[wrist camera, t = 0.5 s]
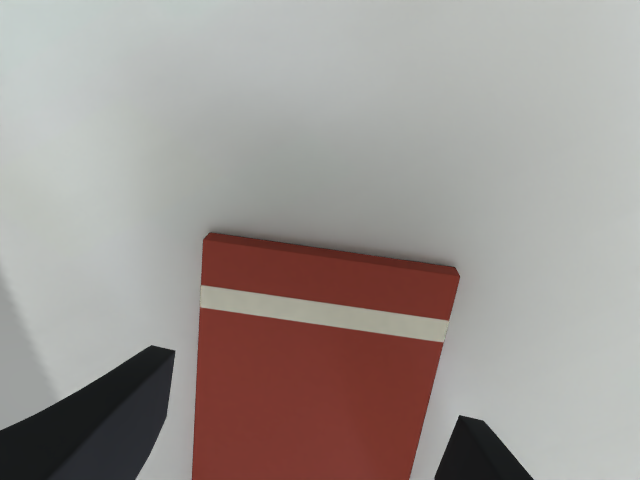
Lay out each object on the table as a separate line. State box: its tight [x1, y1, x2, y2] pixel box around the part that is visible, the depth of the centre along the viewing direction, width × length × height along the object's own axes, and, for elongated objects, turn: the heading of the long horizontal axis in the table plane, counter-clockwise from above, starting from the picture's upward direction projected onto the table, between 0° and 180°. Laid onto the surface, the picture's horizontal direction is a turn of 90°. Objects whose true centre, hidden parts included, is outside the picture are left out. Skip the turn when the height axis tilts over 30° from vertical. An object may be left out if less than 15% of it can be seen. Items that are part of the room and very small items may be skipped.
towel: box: [192, 233, 460, 480], centre depth 23 cm, size 18×11×1 cm, turn 173°
